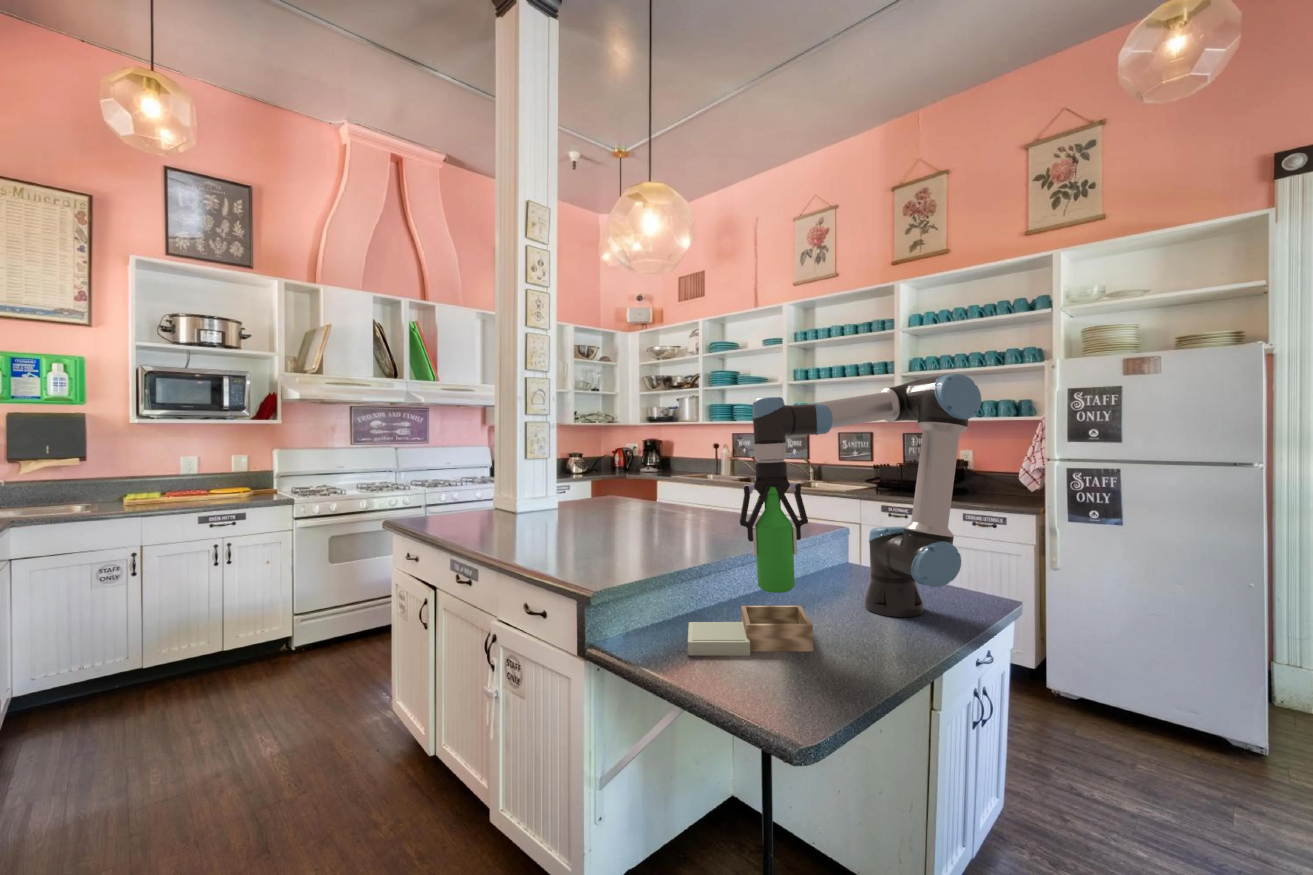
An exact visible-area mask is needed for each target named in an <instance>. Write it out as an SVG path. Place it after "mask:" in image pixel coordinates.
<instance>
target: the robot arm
mask: <svg viewBox="0 0 1313 875" xmlns="http://www.w3.org/2000/svg"><path fill="white" fill-rule="evenodd" d="M981 406H982V394H981V391H980V389H979V386H978V385H977V384H976V383H975V380H973V379H972V378H970V377H969V376H967V375H965V374H961V373H952V374H951V373H945V374H944V373H943V374H941V375H937V376H931V377H927V378H920V379H919V378H918V379H915V380H912V381H909V382H907V383H903V384H899V385H896V386H892V387H886V388H883V389H882V390H881V391H880V392H877V393H870V394H864V395H863V394H862V395H859V396H851V397H850V396H849V397H845V398H839V399H832V400H826V401H819V402H813V403H805V404H795V405H787V404H785V401H784V398H783V397H781V396H775V397H774V396H772V397H771V396H770V397H760V398H755V399H754V401H753V403H752V416H751V418H752V426H753V427H752V428H753V429H752V430H753V440H754V441H753V442H754V443H753V444H754V445H753V447H754V460H755V461H757V462H755V464H754V470H755V471H754V472H755V481H754V483H752V484H743V486H742V488H743V501H742V505H741V512H740V518H739V524H740V526H741V527H745V528H746V529H747V540H748V542H751V543H752V554H753V556H754V557H757V540H756V528H755V524H756V520H757V518H758V516H759V514H760V512H761V510H762V507H763V505H764V504H765V503H764V501H765V499H766V497H767V493H768V492H769V490H770V487H772V486H776V490H777V492H778V494H779V498H780V502H781V503H782V505H783V506H784V508H785V510H786V511H787V514H788V516H789V517H790V519H791V521H792V523H793V525H792V534H793V554H794V556H795V555H797V556H798V543H797V542H798V541H800V540H801V538H802V532H801V527H802V526H803V525H807V524H808V523H809V520H808V516H807V511H806V508H805V504H804V500H803V497H802V493H801V491H802V485H801V484H800V483H798V482H794V483H793V482H789V478H788V468H787V466H788V465H787V462H786V461H785V460H787V450H786V449H787V448H786V447H787V446H786V445H787V444H786V443H787V441H786V436H787V437H790V436H812V435H813V436H818V435H825V434H827V433H829V432H830V431H831V429H833V428H839V427H846V426H853V425H859V424H865V423H866V424H867V423H870V422H877V421H883V420H884V421H886V422H887V423H893V422H901V421H902V422H903V421H909V422H910V421H911V422H912V421H913V422H917V426H918V427H919V428H920V429H921V431H922V436H921V444H920V452H919V459H918V467H917V468H918V469H917V474H916V483H915V490H914V499H913V504H912V505H913V506H912V512H911V513H912V514H911V519H910V520H911V521H910V522H909V523H908V524H907V525H905V526H883V527H882V526H881V527H875V528H871V529H870V530H869V537H868V538H869V539H868V544H869V563H870V565H869V566H870V568H869V569H870V582H869V584H868V587H867V590H866V594H865V597H864V608H865V609H866V610H867V611H869V612H871V613H873V614H878V615H881V616H886V617H896V618H898V617H899V618H911V617H918V616H920V615H922V614H924V602H923V599H922V597H921V595H920V591H919V587H918V586H917V584H919V585H920V586H921V585H922V586H928V587H931V588H941V587H945V586H947V585H948V584H949V583H950V582H952V581H954V580H955V579H956V578H957V576H958V575H959V572H960V570H961V567H962V557H961V553H960V552H959V550H958V548H957V547H956V545H954V539H955V538H954V537H955V536H954V534H953V533H952V531H951V530H950V528H949V522H950V515H951V507H952V499H953V492H954V491H953V490H954V482H955V475H956V468H957V467H956V466H957V459H958V450H959V442H960V435H961V434H962V433H964V432H965V431H967V429H968V427H969V426H968V425H969V419H971V418H973V417H974V416H976V414H978V412H979V411H980V410H981ZM789 488H790V490H791V492H793V495H794V500H795V502H796V506H797V509H798V513H799V517H800V519H799V518H798V516H797V514H796V513H795V512H794V509H793V507H792V506H791V503H790V501H789V500H788V498H787V496H786V492H787V491H788V489H789ZM754 490H755V491H757V493H758V494H759V495H758V498H757V500H756V502H755V505H754V507H753V510H752V512H751V514H750V516H749V519H748V521H747V516H748V510H749V504H750V499H751V494H752V493H753V492H754Z"/></svg>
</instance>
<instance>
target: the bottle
mask: <svg viewBox="0 0 1313 875" xmlns="http://www.w3.org/2000/svg"><path fill="white" fill-rule="evenodd" d="M781 503H782V501H781V500H780V498H779V494H778V492H777V490H776V486H772V487H770V490H769V492H768V493H767V497H766V499H765V501H764V503H763V504H764V510H763V511H762V514H761V515H760V517H759V518H758V519H757V522H755V524H754V527H755V528H756V540H757V556H756V569H757V570H756V571H757V574H756V575H757V586H758V587H759V588H760V589H761V590H762V591H763V592H766V593H771V594H772V593H773V594H776V593H777V594H780V593H782V594H783V593H787V592H788V593H789V592H790V591H792V590H793V589H794V588H795V587H796V583H795V578H796V577H795V562H794V561H795V559H794V556H795V555H794V554H793V534H792V526H793V524H792V523H793V522H791V521H790V519H789V518H788V516H787V515H786V514H785V512H784V511H783V510H782V507H781V506H782V505H781Z"/></svg>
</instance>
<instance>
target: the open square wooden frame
mask: <svg viewBox="0 0 1313 875" xmlns="http://www.w3.org/2000/svg"><path fill="white" fill-rule="evenodd" d="M740 607H741V622H743V625H744V629H745V633H746V638H749V641H750V652H814V630H813V629H814V626H813V624H812V622H811V620H810V619H809V617H808V616H807V614H806V612H805V611H804V609H803V607H802V606H801V605H740Z"/></svg>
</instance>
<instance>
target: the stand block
mask: <svg viewBox="0 0 1313 875" xmlns="http://www.w3.org/2000/svg"><path fill="white" fill-rule="evenodd" d="M687 630H688V634H687V656H744V657H745V656H751V651H750V641H749V638H746V633H745V629H744V625H743V622H742V621H713V622H712V621H689V622H688V629H687Z"/></svg>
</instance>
